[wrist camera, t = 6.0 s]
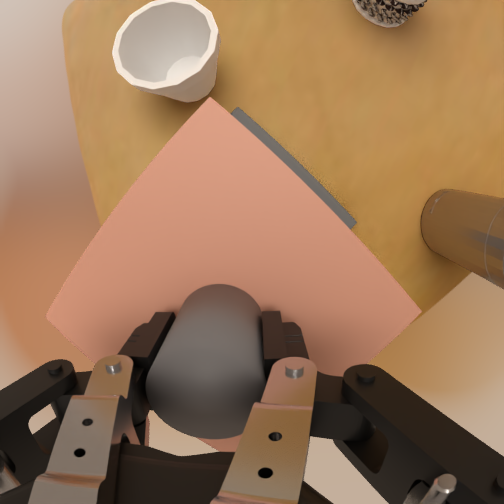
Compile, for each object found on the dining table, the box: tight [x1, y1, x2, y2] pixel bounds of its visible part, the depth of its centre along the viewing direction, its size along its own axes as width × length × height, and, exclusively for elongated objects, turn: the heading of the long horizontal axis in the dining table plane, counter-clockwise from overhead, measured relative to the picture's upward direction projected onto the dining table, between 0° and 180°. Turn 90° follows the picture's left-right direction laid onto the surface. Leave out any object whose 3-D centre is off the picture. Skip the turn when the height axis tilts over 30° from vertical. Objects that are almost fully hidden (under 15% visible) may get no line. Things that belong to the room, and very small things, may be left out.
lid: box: [45, 97, 422, 452], centre depth 11 cm, size 13×13×6 cm
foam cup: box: [112, 0, 221, 103], centre depth 28 cm, size 10×9×13 cm
